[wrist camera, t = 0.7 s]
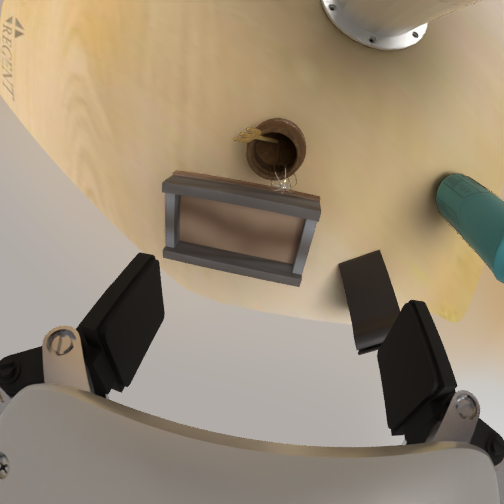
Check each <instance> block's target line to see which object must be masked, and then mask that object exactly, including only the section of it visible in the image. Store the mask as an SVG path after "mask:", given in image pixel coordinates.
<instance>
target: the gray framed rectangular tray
mask: <svg viewBox="0 0 504 504" xmlns="http://www.w3.org/2000/svg"><path fill="white" fill-rule="evenodd" d="M272 188H273V189H272ZM279 189H280V188H277V187H272V186H267V185H262V184H257V183H251V182H246V181H240V180H234V179H229V178H223V177H216V176H210V175H204V174H197V173H190V172H183V171H175V172H173V175H172V176H171V177H169V178H168V179H166V180H165V181H164V182H162V192H164V193H166V206H165V223H166V247H165V248H164V249H163V258H167V259H171V260H176V261H180V262H185V263H189V264H193V265H198V266H202V267H207V268H211V269H216V270H221V271H225V272H230V273H234V274H239V275H244V276H248V277H253V278H258V279H263V280H268V281H272V282H277V283H282V284H287V285H292V286H297V287H299V286H300V283H301V280H302V272H303V268H304V265H305V262H306V258H307V255H308V252H309V248H310V245H311V241H312V238H313V234H314V231H315V227H316V223H317V222H319V218H320V214H321V208H320V197H319V196H315V195H310V194H306V193H301V192H297V191H292V190H288V191H289V192H288V191H287V190H286V189H284V191H283V189H281V190H279ZM274 190H277V191H274ZM290 192H291V193H290ZM281 193H283V194H281Z"/></svg>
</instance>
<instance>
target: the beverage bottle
mask: <svg viewBox="0 0 504 504" xmlns="http://www.w3.org/2000/svg"><path fill="white" fill-rule="evenodd" d="M490 191H491V190H490ZM490 191H488V190H487V189H486V187H484V186H482V185H480V184H479V183H478V182H476V181H475V180H473V179H472V178H470V177H469V178H468V176H465V175H463V174H462V173H461V174H458V173H457V174H452V175H450V176H448V177H446V178H445V179H444V180H443V181H442V182H441V184H440V186H439V188H438V191H437V195H436V202H437V206H438V207H437V208H438V209H439V210H438V211H440V213H441V215H442V216H443V217H444V218H445V219H446V220H447V221H448V222H449V223H450V224H451V225H452V226H453V227H454V228H455V229H456V231H457V233H459V234H460V235H461V236H462V237H463V239H465V240H466V242H467V243H468V245H469V246H471V247H472V248H473V249H474V250H475V251H476V253H477V254H478V255H479V256H480V257H481V259H482V260H483V261H484V262H485V263H486V265H487V266H488V267H489V268H490V270H491V271H492V272H493V273H494V276H495V277H496V279H497V280H498V281H500V282H502V283H504V201H502V200H501V199H500V198H498V197H497V196H495V195H494V194H493V193H491V192H492V191H491V192H490ZM444 218H443V219H444ZM446 220H445V221H446ZM447 221H446V222H447ZM465 240H464V241H465ZM467 243H466V244H467ZM475 251H474V252H475Z"/></svg>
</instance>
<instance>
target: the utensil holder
mask: <svg viewBox="0 0 504 504" xmlns="http://www.w3.org/2000/svg"><path fill="white" fill-rule="evenodd" d="M246 130H247V131H250V132H252V133H245V132H241V133H240V136H244V137H245V138H241V137H235V138H234V139H233V140H234V141H239V142H245V143H247V160H248V163H249V165H250V167H251V168H252V170H253V171H254V172H255V173H256V174H258V175H259V176H261V177H263V178H265V179H268V180H279V181H280V180H282V179H286V178H288V177H289V176H291V175H292V174H294V176H295V172H296V171H297V169H298V168H299V167H300V166H301V164H302V163H303V161H304V158H305V154H306V143H305V138H304V136H303V133H302V132H301V130H300V129H299V128H298V126H297V125H295V124H294V123H292V122H291V121H289V120H286V119H281V118H275V119H270V120H267V121H265V122H263V123H262V124H260V125H259V126H258V127H256V128H251V127H248V128H247V129H246ZM295 177H296V176H295ZM293 178H294V177H293ZM288 180H289V179H288ZM292 180H293V179H292ZM292 180H291V181H292ZM291 181H289V183H290V182H291ZM270 182H271V181H270ZM280 183H281V182H280ZM289 183H288V184H289ZM271 184H272V182H271ZM273 184H274V183H273ZM281 184H282V183H281ZM281 184H280V189H279V190H281V189H282V188H281V187H283V188H285V183H284V186H281ZM288 184H287V185H288ZM274 185H276V184H274ZM287 185H286V186H287ZM296 185H297V179H296ZM296 185H295V186H296ZM277 186H278V185H277ZM293 187H294V186H293ZM286 188H291V185H290V187H286ZM286 188H285V189H286ZM272 189H273V188H272ZM286 190H287V189H286ZM274 191H277V190H274ZM283 191H284V189H283ZM287 191H288V190H287ZM288 192H289V191H288ZM290 193H291V192H290ZM281 194H283V193H281Z"/></svg>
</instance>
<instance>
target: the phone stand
mask: <svg viewBox="0 0 504 504" xmlns="http://www.w3.org/2000/svg"><path fill="white" fill-rule="evenodd" d="M339 267H340V271H341V275H342V279H343V284H344V288H345V293H346V297H347V302H348V306H349V311H350V316H351V321H352V326H353V334H354V340H355V345H356V348H357V350H359V352H358V354H359V355H361V354H365V353H368V352H372V351H375V350H379V348H380V346H381V344H382V343H383V341H384V340H385V338H386V336H387V335H388V333H389V331H390V329H391V328H392V326H393V324H394V322H395V321H396V319H397V317H398V315H399V313H400V309H399V306H398V303H397V299H396V296H395V293H394V290H393V287H392V284H391V281H390V278H389V275H388V272H387V269H386V266H385V263H384V260H383V258H382V255H381V252H380V250H379V251H376V252H373V253H370V254H367V255H365V256H362V257H359V258H356V259H353V260H350V261H347V262H344V263H341V264H339Z"/></svg>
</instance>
